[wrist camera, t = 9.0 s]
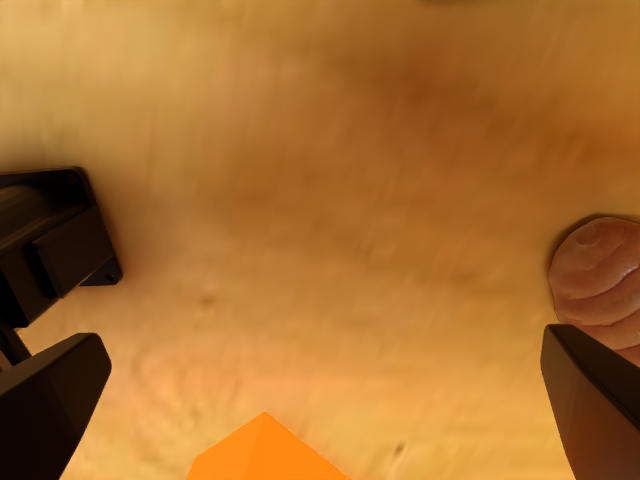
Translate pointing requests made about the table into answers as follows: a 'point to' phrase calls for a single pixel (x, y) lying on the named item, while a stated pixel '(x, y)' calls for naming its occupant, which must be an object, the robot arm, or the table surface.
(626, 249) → the pastry
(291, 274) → the table surface
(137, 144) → the table surface
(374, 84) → the table surface
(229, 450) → the orange juice
